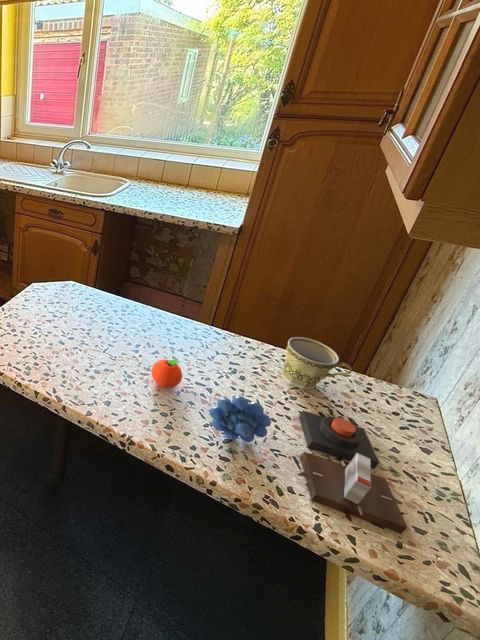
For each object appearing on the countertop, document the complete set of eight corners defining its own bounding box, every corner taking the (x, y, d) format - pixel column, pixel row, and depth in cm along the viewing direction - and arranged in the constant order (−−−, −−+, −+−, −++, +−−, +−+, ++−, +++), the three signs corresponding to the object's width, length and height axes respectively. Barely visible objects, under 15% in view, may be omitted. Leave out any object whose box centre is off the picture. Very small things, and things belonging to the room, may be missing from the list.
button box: (359, 435, 88) (367, 422, 86) (374, 469, 81) (383, 456, 79) (298, 416, 92) (305, 404, 90) (307, 447, 85) (315, 435, 83)
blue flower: (205, 448, 85) (222, 409, 79) (198, 422, 91) (214, 384, 85) (267, 462, 82) (290, 422, 77) (256, 435, 88) (276, 396, 82)
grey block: (345, 468, 79) (357, 451, 76) (358, 475, 78) (371, 458, 75) (343, 497, 74) (356, 480, 71) (358, 504, 73) (371, 487, 70)
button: (349, 427, 86) (353, 421, 85) (354, 440, 83) (358, 434, 82) (328, 420, 87) (331, 415, 86) (333, 433, 84) (336, 427, 83)
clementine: (162, 368, 106) (168, 347, 103) (186, 385, 101) (194, 364, 97) (142, 380, 102) (148, 359, 99) (167, 398, 97) (174, 376, 94)
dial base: (378, 480, 79) (384, 474, 78) (403, 538, 70) (410, 531, 69) (298, 454, 84) (302, 447, 83) (312, 504, 75) (317, 498, 74)
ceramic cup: (271, 381, 102) (286, 351, 97) (276, 360, 109) (290, 331, 104) (336, 408, 95) (356, 377, 90) (337, 383, 101) (355, 353, 97)
